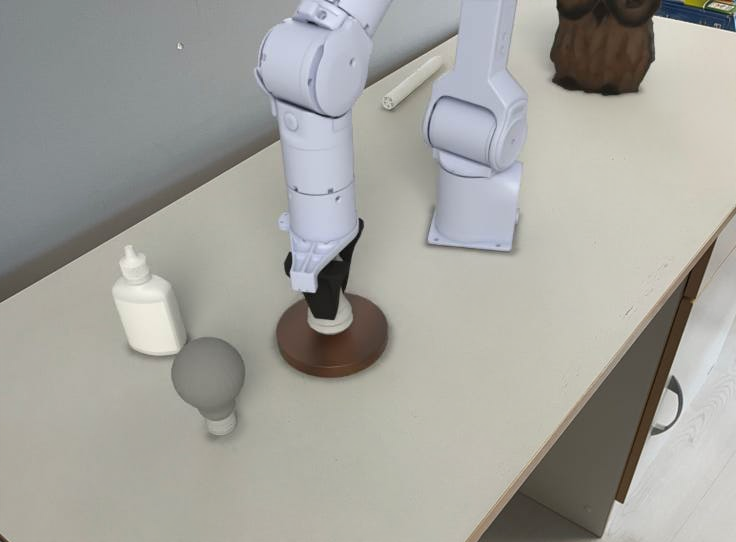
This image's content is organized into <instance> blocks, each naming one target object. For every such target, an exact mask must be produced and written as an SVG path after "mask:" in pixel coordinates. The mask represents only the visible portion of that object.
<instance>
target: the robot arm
mask: <svg viewBox="0 0 736 542" xmlns="http://www.w3.org/2000/svg"><path fill="white" fill-rule="evenodd" d="M393 1H394V0H300V1H299V2H298V4H297V7H296V8H295V10H294V12H293V14H292V16H291V17H288V18H285V19H282V22H277V24H275V25H274V26H272V27H271V28H270V29H269V30H268V31H267V32H266V34H264V37H263V39H262V41H261V43H260V46H259V50H258V53H257V54H258V55H257V56H258V57H257V66H256V67H254V68H253V75H254V79H255V83H256V84H257V86H258V88H259V89H260V91H261V92H262V93H263V95H265V96H266V97H267V98H268V100H269V103H270V109H271V110H270V111H271V116H273V117H274V118H275V119H276V120H277V121H276V122H277V123H278V124H277V125H278V131H279V139H280V148H281V156H282V158H281V159H282V165H283V174H284V180H285V189H286V197H287V205H288V206H287V207H288V211H285V212H282V213H281V214H280V216H279V218H278V220H277V223H276V224H277V229H278V231H280V232H287V233H288V235H289V241H290V250H291V251H288V253H287V255H286V258H284V262H283V269H284V274H285V276H287V277H288V278H289V280H290V285H291V290H292V291H295V292H301V293H302V296H303V297H304V298H305V299H306V301H307V304H308V306H309V308H310V310H311V313H312V315H313V317H314V318H317V319H325V320H335V318H336V315H337V312H338V307H339V298H340V289H342V293H344V292H345V291H346V289H347V286H348V282H349V276H350V272H351V271H350V270H351V265H352V261H353V255H354V252H355V251H354V250H355V247H356V245H357V243H358V242H359V240H360V238H361V236H362V233H363V231H364V228H365V221H364V220H363V218H361V217H359V215H358V212H357V201H356V181H355V180H356V179H355V178H356V177H355V176H356V175H355V155H354V154H355V153H354V133H353V131H354V130H353V106H354V105H355V104H356V103H357V101H358V99H359V98H360V97H361V96H362V95H363V92H364V90H365V87H366V83H367V81H368V72H369V64H370V60H371V57H372V55H373V53H374V51H373V49H374V47H375V44H374V42H373V40H372V39H373V37H374V36H375V33H376V32H377V30H378V28H379V26H380V24H381V23H382V21H383V19H384V17H385V15H386V14H387V12H388V10H389V8H390V7H391V5H392V3H393ZM517 6H518V0H461V5H460V15H459V24H458V32H457V40H456V50H455V57H454V59H455V60H454V65H453V68H452V69H450V70H447V71H446V72H445V73H442V74H441V75H440V76H438V77H437V78H436V79H435V80H434V82H433V83H432V84H431V91H430V97H429V100H428V105H427V106H426V108H425V111H424V114H423V119H422V126H421V127H422V128H421V129H422V137H423V140H424V143H425V144H426V145H427V146H428V148H429V147H430V148H431V149H432V157H431V158H433V159H435V160H436V161H437V176H436V177H437V178H436V194H435V195H436V197H435V207H434V211H433V215H432V219H431V223H430V226H429V227H430V228H429V231H428V235H427V241H426V242H427V244H429V245H437V246H446V247H448V246H449V247H458V248H468V249H478V250H488V251H499V252H510V251H512V248H513V241H514V240H513V239H514V233H515V226H516V225H518V223H519V217H520V208H519V207H518V205H519V198H520V192H521V184H522V177H523V176H522V175H523V168H524V162H523V161H521V160H518V158H519V156H520V155H521V153H522V151H523V149H524V146H525V143H526V141H527V136H528V128H529V127H528V120H527V119H528V118H527V113H528V112H527V110H528V100H529V95H528V93H527V92H526V90H525V89H524V88H523V87H522V85H521V84H520V83H519V82H518V80H517V79H516V78H515V77H514V76H513V74H512V73H511V72H510V70H509V69H508V61H509V56H510V51H511V50H510V49H511V43H512V37H513V32H514V25H515V19H516V12H517ZM337 254H339V256H340V257H341V258H342V260H343V261H337V260H332V259H333V258H334V257H335V256H336V255H337ZM345 293H346V292H345Z"/></svg>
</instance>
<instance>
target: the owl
mask: <svg viewBox="0 0 736 542" xmlns="http://www.w3.org/2000/svg"><path fill="white" fill-rule="evenodd" d="M662 1H663V0H555V2H556V7H555V9H556V10H557V15H558V25H557V29H556V31H555V34H554V39H553V42H552V45H551V48H550V51H549V59H550V61H551V62H552V63H553V66H554V71H555V73H554V77H552V79H551V82H552V83H554V84H556V85H557V86H559V87H561V88H563V89H564V90H567V91H570V92H571V91H575V92H576V91H579V92H580V91H582V92H583V93H585V94H597V95H598V94H600V95H602V96H604V97H607V96H620V95H623V94H630V93H631V94H632V93H639V91H640V90H639V88H640V85H641V84H642V82H643V80H644V78H645V77H646V75H647V73H648V72H649V70H650V68H651V65H652V64H653V63H654V62H655V60H656V46H655V32H654V20H653V18H654V16H655V15H656V14H657V13H658V11H659V10H660V9H661V8H662Z"/></svg>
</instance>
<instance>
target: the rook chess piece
mask: <svg viewBox="0 0 736 542" xmlns="http://www.w3.org/2000/svg"><path fill="white" fill-rule="evenodd" d="M332 260H337V261H343V260H342V258H341V257H340V256H339V254H337V255H336V256H335V257H334V258H333V259H332ZM352 321H353V314H352V307H351V305H350V303H349V302H348V300H347V299H346V298H345V296H344V295H343V293H342V289H340V298H339V307H338V312H337V315H336V318H335V320H325V319H317V318H314V317H313V315H312V313H311V310H310V308H309V307H308V323H309V325H310V327H311V328H313V329H314V330H316V331H317V332H319V333H322V334H326V335H334V334H337V333H340V332H342V331H344V330H345V329H347V328H348V327H349V325H350V324H351V322H352Z"/></svg>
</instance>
